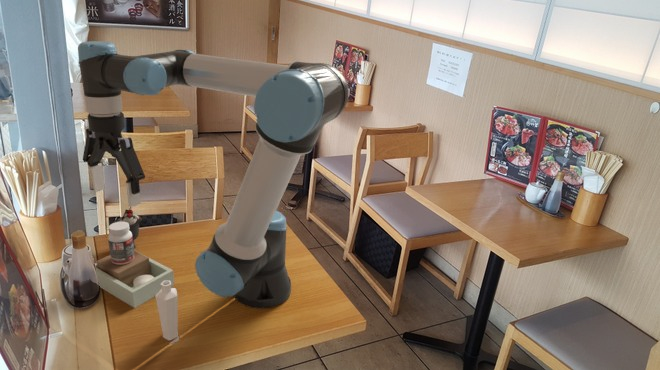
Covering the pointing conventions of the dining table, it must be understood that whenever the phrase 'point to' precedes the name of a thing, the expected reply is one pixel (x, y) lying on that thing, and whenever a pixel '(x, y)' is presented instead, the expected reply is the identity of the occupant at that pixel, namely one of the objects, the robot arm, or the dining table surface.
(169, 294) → the perfume bottle
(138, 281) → the white half dome
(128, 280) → the walnut block
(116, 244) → the pill bottle
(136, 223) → the sundae
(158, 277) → the tote
